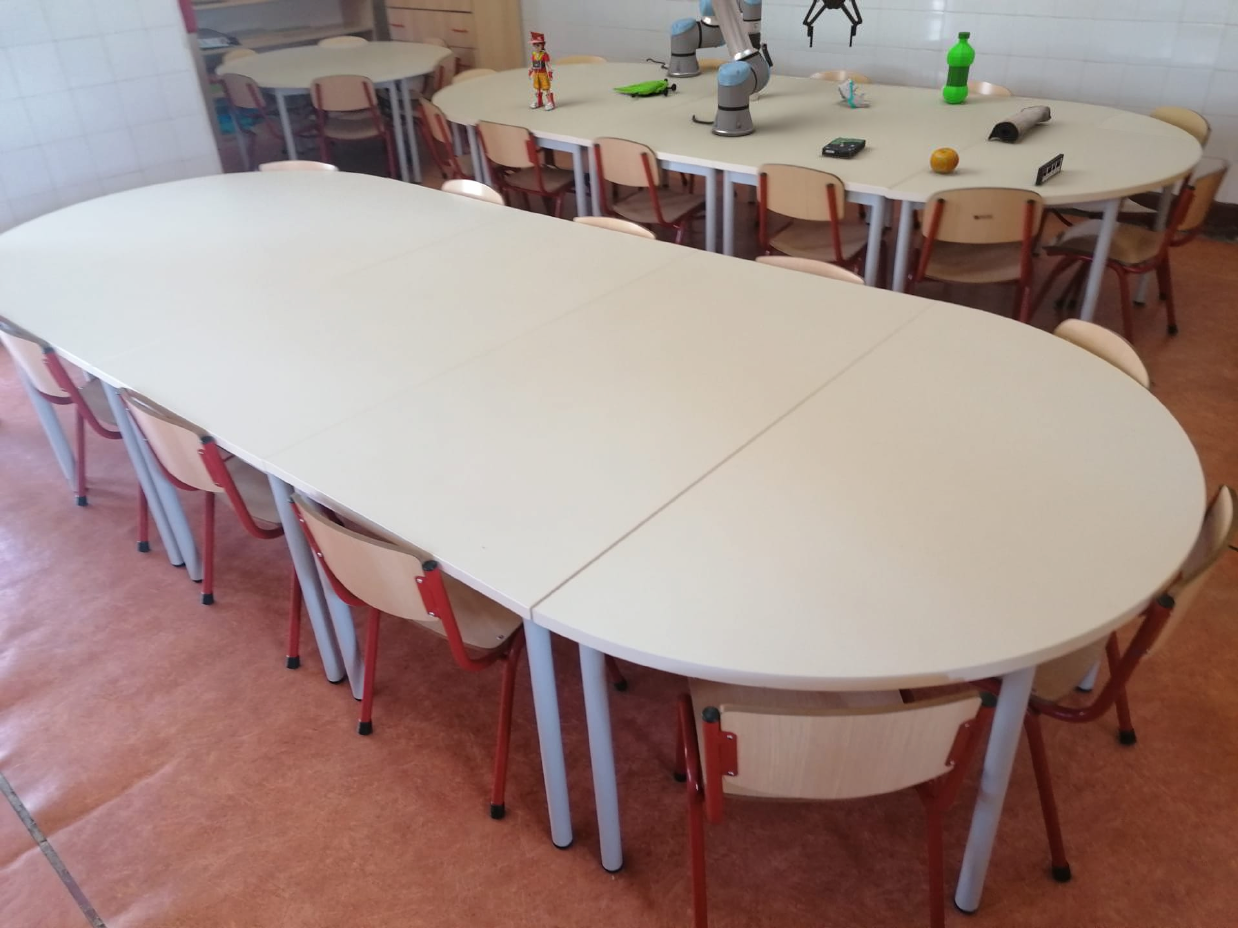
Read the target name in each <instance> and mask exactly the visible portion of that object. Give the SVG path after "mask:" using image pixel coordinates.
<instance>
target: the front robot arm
mask: <svg viewBox="0 0 1238 928" xmlns="http://www.w3.org/2000/svg"><path fill="white" fill-rule="evenodd" d="M710 1H711V4H712V7H713V9H714V12H715V15H716V18H717V20H718V23H719V26H720V29H721V31H722V34H723V37H724V40H725V42H726V44H725V46H726V48H727V50H728V53H729V56H730V59H729V62H726V63H723V64H722V65H720V67H719V68H718V70H717V71H718V72H717V74H718V75H717V111H716V114H715V118H714V120H712V121H706V120H698V119H695V118H696V114H693V115H692V121H693V122H695V123H697V124H704V125H712V133H713V134H715V135H717V136H721V137H741V136H746V135H750V134H752V133H754V127H755V126H754V122H753V118H752V115H751V111H750V101H749V96H750V95H752V94H754V93H757V92H758V93H759V92H761V91H762V90H763V89H764V88H765V87H767V86H766V85H768V83H769V81H770V79H771V67H769V64H768V63H767V61H766V60H765V58H764V57H763V58H764V59H763V58H761V57H760V54H759V52H760V50H759V51H758V50H757V49H755V48H753V47H752V44H751V41H750V39H749V36H748V33H747V30H746V27H745V24H744V22H743V15H742V13H740V10H739V8H738V5H737V2H736V0H710ZM820 1H822V3H823V4H822V6H821V7H820V8H819V10H818V11H817V12H816V13H815V15H814V16H813V17H812V18H811V15H812V13H813V11H814V9H815V8H816V6H817V3H819V2H820ZM846 1H847V0H812V4H811V5H810V6H809V7H810V8H809V9H808V11H807V13H806V15H805V17H804V19H803V21H802V25H803V26H806V27H807V29H806V30H807V32H806V36H807V37H808V38H809V48H813V41H814V40H813V39H814V25H813V24H814V23H815V22H816V21H817V19H819V17H820V16H821V15H822V14H823V12H824V11H825V10H826V9H828V10H840V9H841V11H842V12H843V13H844V15H845V16H846V17H847V19H848V20H849V22H850V23H851V25H850V35H849V48H852V47H853V37H856V35H857V28H858V26H859V25H863V18H862V15H861V12H860V9H859V7H858V4H857V1H856V0H848V1H849V2H851V6H852V8H853V11H854V13H855V16H856V18H855V17H854V16H853V15H852V13H851V12H850V10H849V9H848V8H847V6H846V4H845V2H846ZM810 18H811V19H810ZM809 19H810V20H809ZM856 19H857V20H856ZM808 20H809V21H808Z"/></svg>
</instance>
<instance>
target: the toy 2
mask: <svg viewBox="0 0 1238 928" xmlns="http://www.w3.org/2000/svg"><path fill="white" fill-rule="evenodd" d="M669 85H670V83H669V79H668V78H664V79H663V80H649V81H644V82H640V83H634V84H629V85H627V86H621V87H613V88H612V89H613V90H616V91H619V92H623V93H627V94H628V93H629V94H631V95H630V96H631V98H632V99H634V98H636V96H637V95H650V94H652V93H654V94H658V93H662V95H663V96H665V97H667V96H668V95H669V90H671V91H672V92H676V91H677V84H676V83H672V84H671V86H669Z"/></svg>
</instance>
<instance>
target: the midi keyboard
mask: <svg viewBox="0 0 1238 928" xmlns="http://www.w3.org/2000/svg"><path fill="white" fill-rule="evenodd" d="M1064 157H1065V153H1059V154H1058V155H1056V156H1055V157H1052V159H1051V160H1049V161H1047V162H1045V164H1042V165H1041V166H1039V167H1038V169H1037V175H1036V179H1035V186H1040V185H1042V183H1044V182H1045V181H1047V180H1048V179H1049V178H1051V177H1052V176H1054V175H1055V174H1056V173H1058V172H1060V171H1061V170H1062V165H1063V161H1064Z"/></svg>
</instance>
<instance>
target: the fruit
mask: <svg viewBox="0 0 1238 928" xmlns="http://www.w3.org/2000/svg"><path fill="white" fill-rule="evenodd" d="M959 163H960V156H959V154H958V152H957V151H956V150H955V149H953V148H951V147H942V148H938V149H936V150H934V151H933V153H932V154H931V155H930V159H929V166H930V168H931V169H932V170H933V171H934V172H936V173H939V174H940V173H943V174H944V173H945V174H946V173H951V172H953V171H954V170H956V168H957V167H958V165H959Z"/></svg>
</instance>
